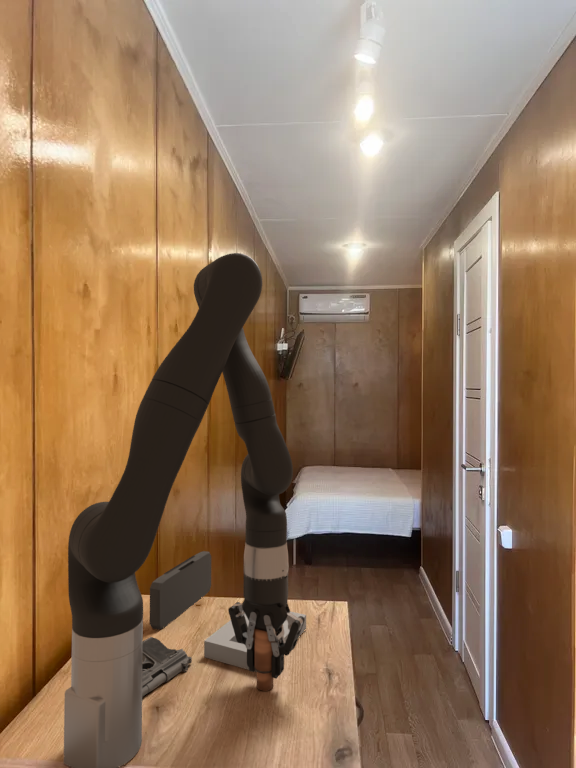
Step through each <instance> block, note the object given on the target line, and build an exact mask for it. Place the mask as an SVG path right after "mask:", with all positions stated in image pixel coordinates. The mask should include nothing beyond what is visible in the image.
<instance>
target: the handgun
mask: <svg viewBox="0 0 576 768" xmlns="http://www.w3.org/2000/svg"><path fill="white" fill-rule="evenodd" d="M192 660H193V658H192V656H188V654H187V652H186V651H185V650H184V649H183V648H180V649H175V648H173V649H172V648H169V647H167V646H166V645H165V644H163V642H161V640H160V639H158V638H156V637H154V636H150V637H148V638H147V639H143V656H142V698H144V696H145V695H148V694H149V693H151V692H152V691H153V690H155V689H156V688H158V687H159V686H161V685H162V684H163V683H168V681H170V680H171V679H172V678H174V677H175V676H177V675H178V674H180V673H181V672H187V671H188V670H189V665H190V664H192V662H193V661H192Z"/></svg>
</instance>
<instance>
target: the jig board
mask: <svg viewBox="0 0 576 768" xmlns="http://www.w3.org/2000/svg"><path fill="white" fill-rule="evenodd" d="M290 613H292V614H293V615H295V616H297V617H299V616H303V617H304V619H305V622H304V624H303V627H302V630H301V633H300V635H301V634H302V633H303V632H304V633H305V631H306V630H307V614H303V613H299V612H294V611H291V610H290ZM244 616H245V619H246V623H247V626H248V625H249V620H248V618H247V616H246V614H244ZM283 627H284V640H285V642H286V639H287V637H288V634H289V631H290V630H289V629H288V621H287V620H285V622H284V623H283ZM305 629H306V630H305ZM304 630H305V631H304ZM304 633H303V634H304ZM303 634H302V635H303ZM300 635H299V636H300ZM302 635H301V636H302ZM301 636H300V637H301ZM203 657H204V658H206V659H210V660H213V661H217V662H221V663H223V664H226V665H230V666H234V667H238V668H240V669H241V668H242V669H244V670H248V671H249V667H248V666H247V648H246V646H245V644H243V643H238V642H237V640H236V636H235V633H234V629H233V626H232V622H231V619H230V620H229V621H227V622H226V623H225V624H224V625H222V626H221V627H219V629H217V630H216V631H215V632H213V633H212V634H211V635H209V636H208V637H207V638H206V639H204V641H203ZM254 673H257V671H254Z"/></svg>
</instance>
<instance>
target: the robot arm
mask: <svg viewBox="0 0 576 768" xmlns="http://www.w3.org/2000/svg"><path fill="white" fill-rule="evenodd" d="M262 289H263V276H262V272H261V269H260V267H259V265H258V264H257V262H256V261H255V260H254V259H253V258H252V257H251V256H249V255H248V254H245V253H242V252H231V253H228V254H224V255H222V256H219V257H218V258H216V259H215V260H213V261H212V262H210V263H209V264H206V266H204V267H203V268H201V270H199V272H198V273H197V275H196V277H195V278H194V282H193V294H194V297H195V302H196V304H197V307H198V309H197V312H196V314H195V316H194V318H193V320H192V321H191V323H190V325H189V326H188V328H187V330H186V331H184V333H183V334H182V336H181V337H180V338H179V340H177V342H176V343H175V345H174V346H173V347H172V349H171V350H170V351H169V352H168V354H166V356H165V358H164V359H163V360H162V362H161V363H160V365H159V366H158V368H157V370H156V371H155V373H154V375H153V376H152V378H151V381H150V382H149V384H148V387H147V389H146V391H145V393H144V395H143V397H142V399H141V402H140V404H139V406H138V409H137V412H136V415H135V419H134V423H133V429H132V433H131V441H130V445H129V446H130V447H129V453H128V457H127V462H126V465H125V468H124V470H123V473H122V475H121V478H120V480H119V482H118V484H117V486H116V487H115V490H114V492H113V493H112V495H111V497H110V499H109V501H100V502H96V503H93V504H90V505H89V506H88V507H85V509H83V510H82V511H81V512H80V513H79V514H78V515H77V517H76V518H75V520H74V521H73V523H72V525H71V529H70V531H69V535H68V545H67V546H68V547H67V572H68V573H67V574H68V575H67V576H68V577H67V581H68V582H67V583H68V584H67V585H68V587H67V589H68V590H67V591H68V602H69V607H70V611H71V665H70V666H71V667H70V668H71V671H70V674H71V676H70V677H71V679H70V682H71V683H70V687H68V688H67V689H66V690H65V691H64V707H63V708H64V709H63V710H64V711H63V715H64V717H63V721H64V722H63V724H64V725H63V764H64V765H66V766H69V767H70V768H121V767H122V766H124V765H125V764H127V763H128V762H129V761H131V759H133V758H134V757H135V756H136V755H137V753H138V752H139V750H140V749H141V747H142V741H143V740H142V739H143V738H142V737H143V697H142V663H143V661H142V656H143V641H144V639H143V637H144V636H143V635H144V634H143V633H144V632H143V631H144V599H143V596H142V593H141V590H140V587H139V585H138V581H137V578H136V572H137V571H138V570H139V569H140V568H141V567H142V566H143V565H144V563H145V561H146V560H147V558H148V557H149V554H150V553H151V551H152V548H153V545H154V542H155V539H156V537H157V533H158V530H159V526H160V524H161V520H162V517H163V513H164V511H165V508H166V505H167V502H168V499H169V495H170V494H171V492H172V491H171V490H172V488H173V485H174V483H175V481H176V479H177V477H178V474H179V472H180V469H182V465H183V463H184V460H185V458H186V456H187V455H188V451H189V449H190V446H191V444H192V442H193V440H194V438H195V436H196V434H197V431H198V429H199V428H200V425H201V423H202V421H203V418H204V416H205V414H206V412H207V409H208V408H209V405H210V402H211V400H212V397H213V395H214V392H215V389H216V387H217V385H218V382H219V381H220V378H221V376H222V375H223V380H224V383H225V387H226V391H227V395H228V399H229V404H230V407H231V414H232V417H233V422H234V426H235V430H236V432H237V434H238V437H240V439H241V440H242V441H243V443H244V444H245V448H246V450H247V455H246V456H245V457H244V459H243V461H242V465H241V470H240V484H241V493H242V499H243V504H244V509H245V510H244V511H245V541H244V545H245V546H244V552H243V594H242V595H243V601H242V602H239V601H237V602H236V603H234V604H233V605H230V607H229V608H228V609H227V611H228V615H229V619H230V620H231V622H232V626H233V629H234V633H235V636H236V640H237V642H238V643H243V644H245V646H246V648H247V666H248V667H249V670H248V672H252V673H255V669H254V654H255V630H256V629H257V630H262V631H266V632H267V634H268V639H269V642H271V646H272V651H273V655H272V678H273V679H275V680H276V679H277V678H279V677H280V676H281V674H282V673H283V672H284V670H285V656H289V655H290V654H291V652H292V651H293V650H295V648H296V646H297V643H298V640H299V638H300V637H299V635H300V633H301V630H302V627H303V624H304V622H305V619H304V617H303V616H299V617H297V616H295V615H293V614H292V613H290V611H291V608H290V606H289V604H288V597H289V568H290V567H289V566H290V564H289V551H288V520H287V519H288V517H287V513H286V510H285V509H284V507H283V506H282V504H281V500H280V494H284V492H286V491H287V490H288V488H289V487H290V486H291V484H292V482H293V481H292V480H293V476H294V465H293V462H292V457H291V453H290V451H289V448H288V447H287V446H288V445H287V444H286V441H285V439H284V436H283V434H282V431H281V430H280V427H279V425H278V422H277V415H276V411H275V406H274V401H273V397H272V393H271V388H270V386H269V382H268V380H267V377H266V376H265V374H264V372H263V369H262V368H261V366H260V364H259V362H258V360H257V358H256V357H255V355H254V354H253V352H252V350H251V347H250V345H249V344H248V340H247V337H246V335H245V330H244V326H245V324H246V323H247V321H248V318H249V317H250V315H251V314H252V312H253V311H254V309H255V307H256V305H257V303H258V302H259V300H260V298H261V294H262V291H263V290H262ZM244 614H246V616H247V618H248V620H249V625H248V626H247V623H246V619H245V616H244ZM285 620H287V621H288V629H289V630H290V631H289V634H288V637H287V639H286V642H285V640H284V627H283V623H284V622H285ZM275 632H276V633H275Z"/></svg>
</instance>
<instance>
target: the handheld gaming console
mask: <svg viewBox="0 0 576 768" xmlns="http://www.w3.org/2000/svg"><path fill="white" fill-rule="evenodd" d="M211 587H212V555H211V553H210V551H200V552H198V553H196V554H195V555H192V556H191V557H188V558H187V559H186V560H184V561H183V562H180V563H179V564H177V565H176V566H174V567H172V568H171V569H169V570H168V571H165V572H164V573H163V574H162V575H160V576H158V577H157V578H156V579H154V580H153V581H152V582H151V584H150V587H149V626H150V627H151V628H152V629H153V630H162V629H163V628H165V627H167V626H168V625H170V624H171V623H172V622H174V621H175V620H176V619H177V618H178V617H179V616H182V614H184V612H186V611H187V610H188V609H190V608H191V607H192V606H193V605H195V604H196V603H197V602H199V600H201V599H202V598H203V597H205V596H206V595H208V593H209V592H210V590H211ZM201 597H202V598H201ZM194 603H195V604H194ZM190 606H191V607H190ZM189 607H190V608H189Z"/></svg>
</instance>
